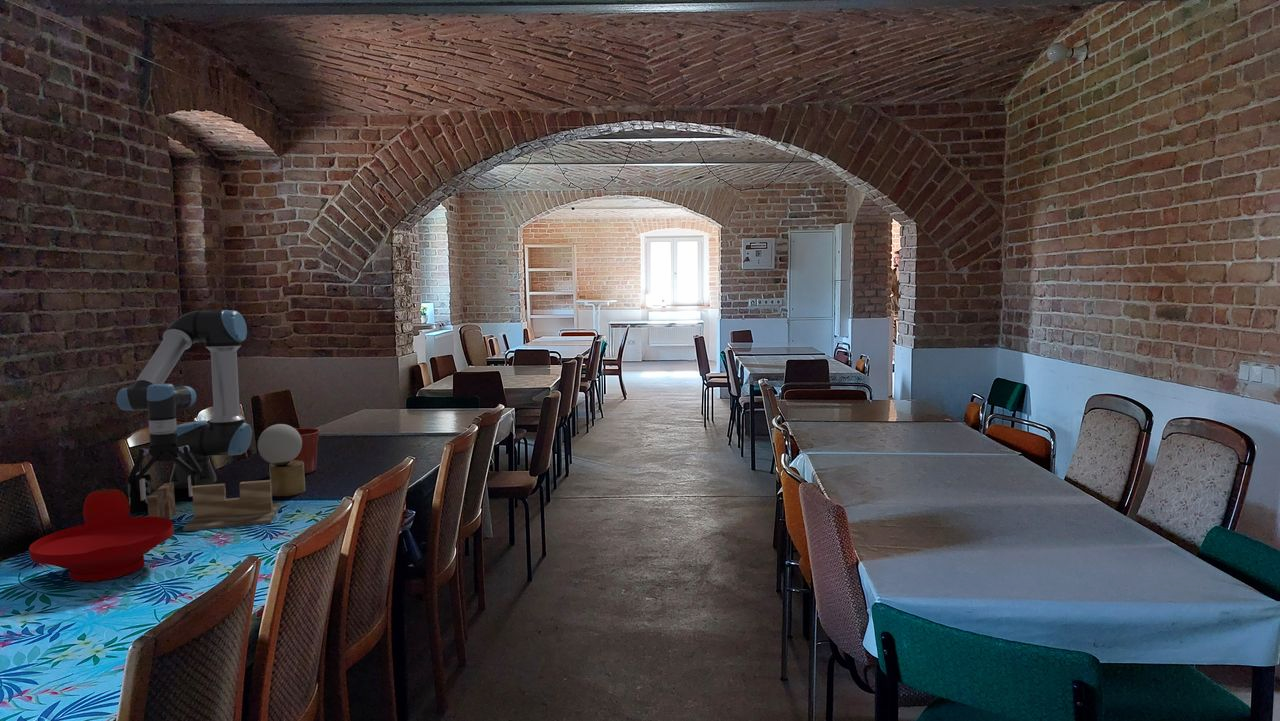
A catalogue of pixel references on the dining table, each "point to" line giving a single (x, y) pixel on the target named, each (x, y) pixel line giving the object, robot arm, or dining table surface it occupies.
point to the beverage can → (135, 494)
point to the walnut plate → (162, 502)
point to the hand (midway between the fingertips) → (167, 497)
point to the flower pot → (308, 448)
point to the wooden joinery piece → (232, 506)
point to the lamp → (283, 459)
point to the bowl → (102, 547)
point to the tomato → (105, 506)
